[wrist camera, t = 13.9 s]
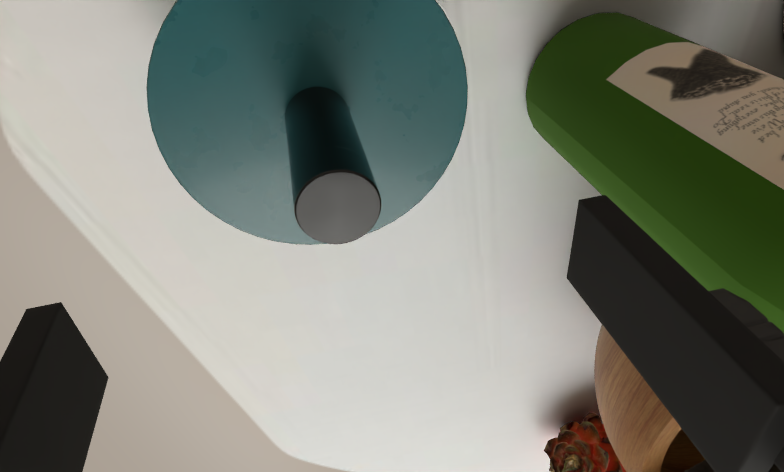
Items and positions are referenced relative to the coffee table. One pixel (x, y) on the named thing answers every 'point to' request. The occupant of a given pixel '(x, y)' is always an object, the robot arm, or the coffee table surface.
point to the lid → (307, 111)
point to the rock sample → (705, 471)
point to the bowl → (637, 416)
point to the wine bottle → (673, 146)
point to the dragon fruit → (583, 448)
